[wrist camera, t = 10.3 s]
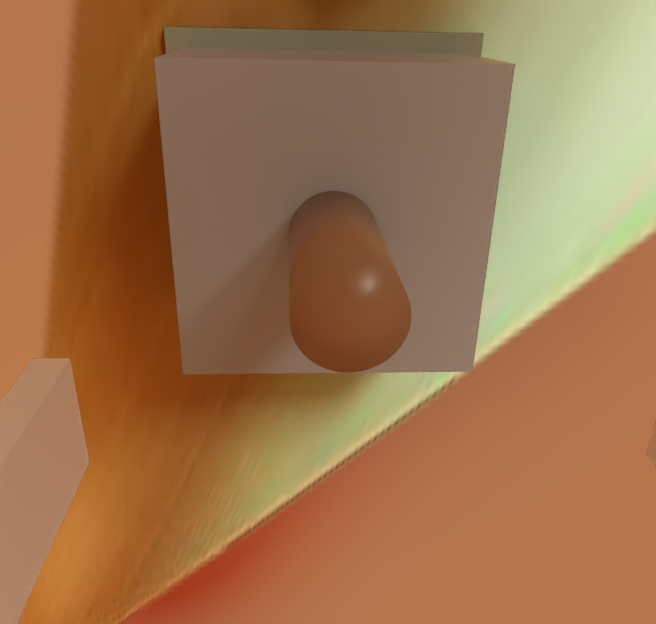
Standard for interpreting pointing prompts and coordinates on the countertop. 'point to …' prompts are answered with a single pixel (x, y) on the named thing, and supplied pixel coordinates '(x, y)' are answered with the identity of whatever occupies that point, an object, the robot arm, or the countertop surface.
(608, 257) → the countertop surface
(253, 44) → the mat
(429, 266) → the cover
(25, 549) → the robot arm
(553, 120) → the countertop surface
